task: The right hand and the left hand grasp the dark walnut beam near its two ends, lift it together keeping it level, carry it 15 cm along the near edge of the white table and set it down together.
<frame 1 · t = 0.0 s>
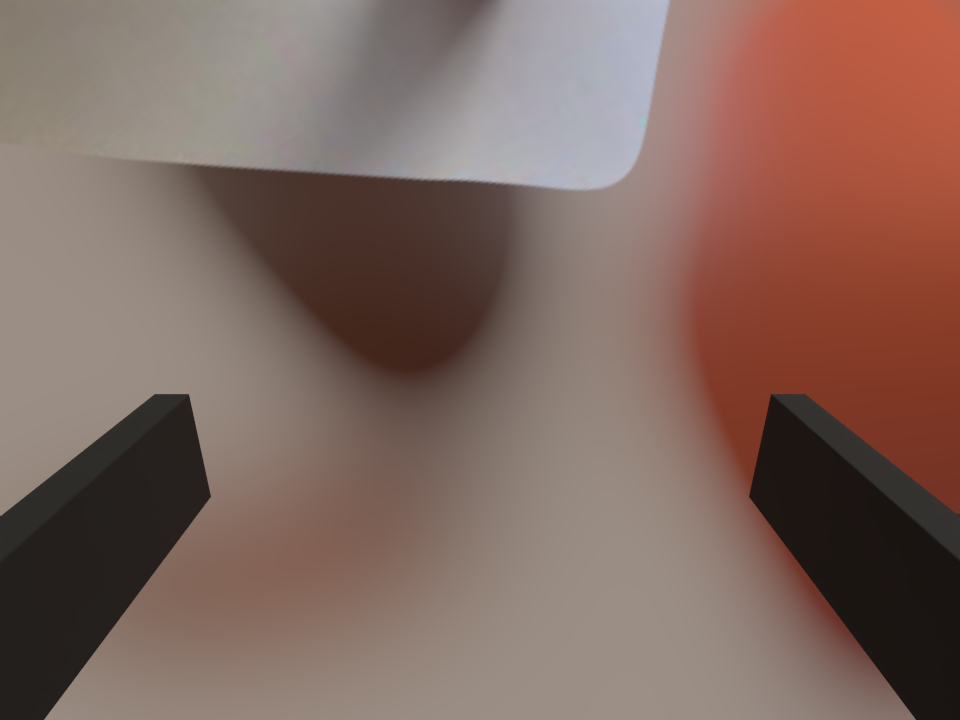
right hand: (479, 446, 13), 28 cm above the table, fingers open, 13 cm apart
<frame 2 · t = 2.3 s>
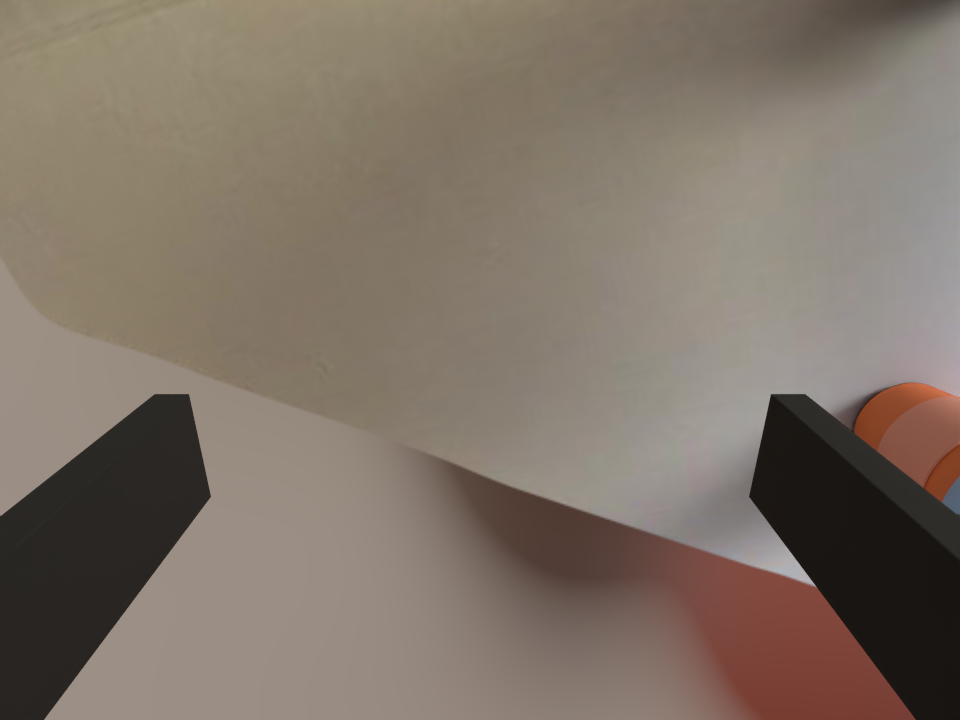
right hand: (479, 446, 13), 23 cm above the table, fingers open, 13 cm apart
cup with straw: (896, 420, 38), on the table
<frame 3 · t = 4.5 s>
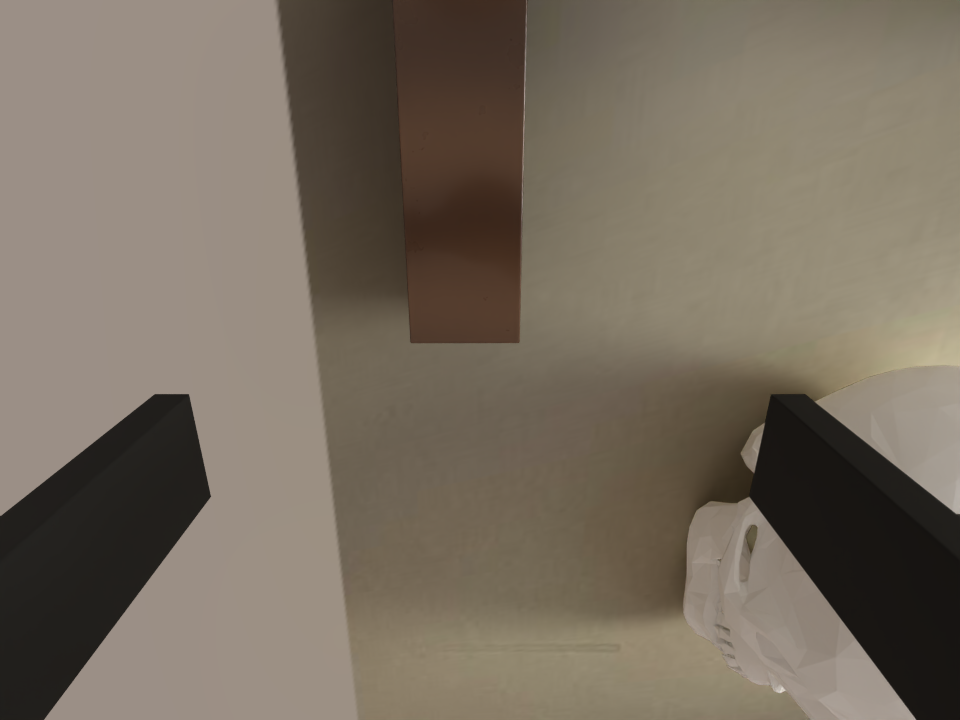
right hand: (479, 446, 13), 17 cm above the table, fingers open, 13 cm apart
walnut beam: (466, 64, 25), on the table, touching left hand
skull: (794, 485, 34), on the table
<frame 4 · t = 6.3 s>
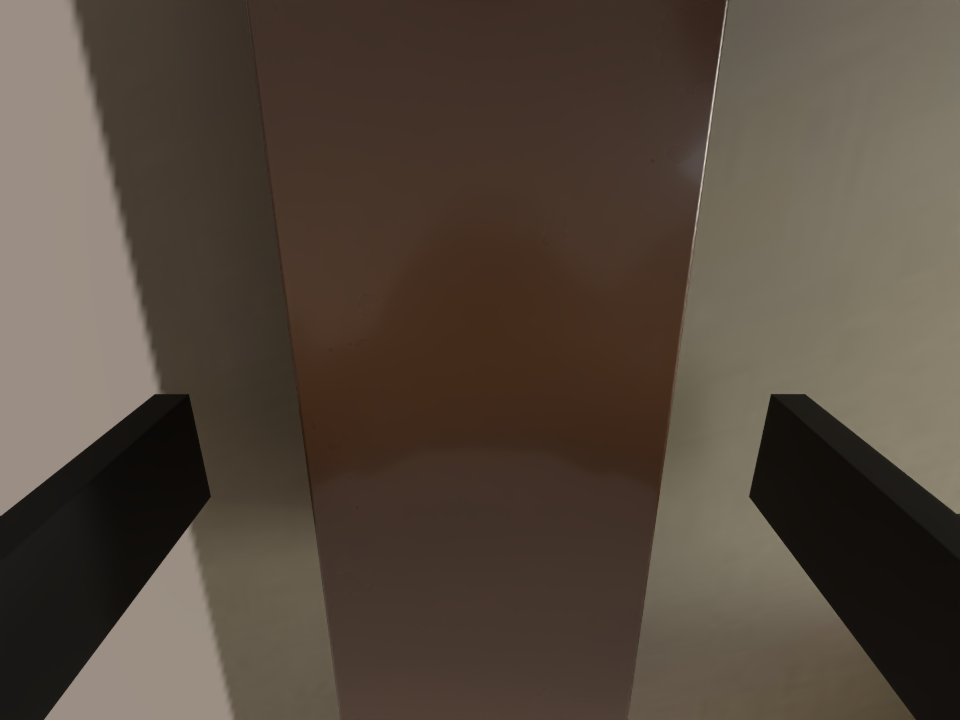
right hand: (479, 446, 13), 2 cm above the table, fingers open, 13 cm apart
walnut beam: (485, 71, 12), on the table, touching left hand
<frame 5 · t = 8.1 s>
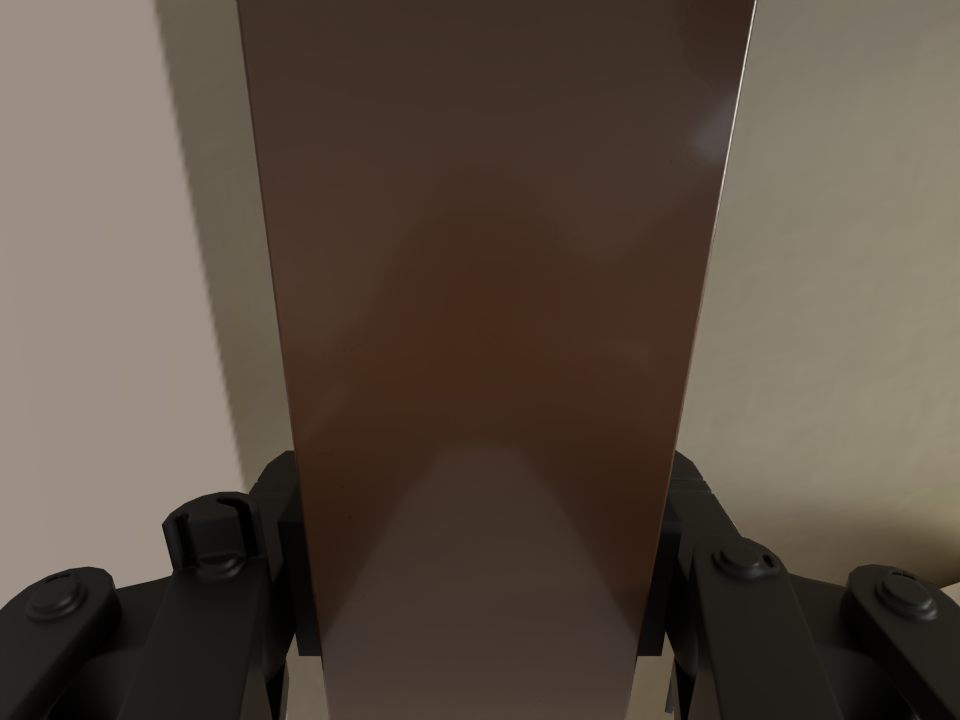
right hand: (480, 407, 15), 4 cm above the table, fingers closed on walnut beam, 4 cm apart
walnut beam: (487, 55, 11), point 5 cm above the table, touching right hand, left hand
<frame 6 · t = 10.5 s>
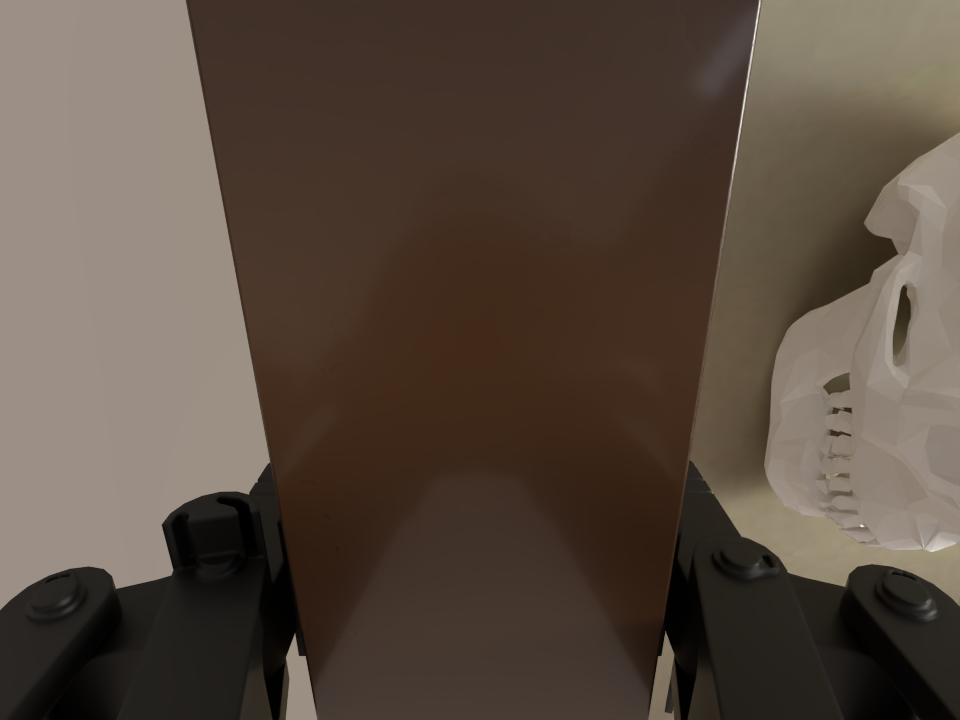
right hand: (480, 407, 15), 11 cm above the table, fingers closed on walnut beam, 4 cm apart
walnut beam: (475, 51, 11), point 12 cm above the table, touching right hand, left hand
skull: (923, 293, 24), on the table
when the right hand's fingers open (0 cm above the table, at t = 12.8 s): walnut beam stays where it is, on the table.
when the left hand's fingers open (3 cm above the table, at t = 13.0 s): walnut beam stays where it is, on the table.
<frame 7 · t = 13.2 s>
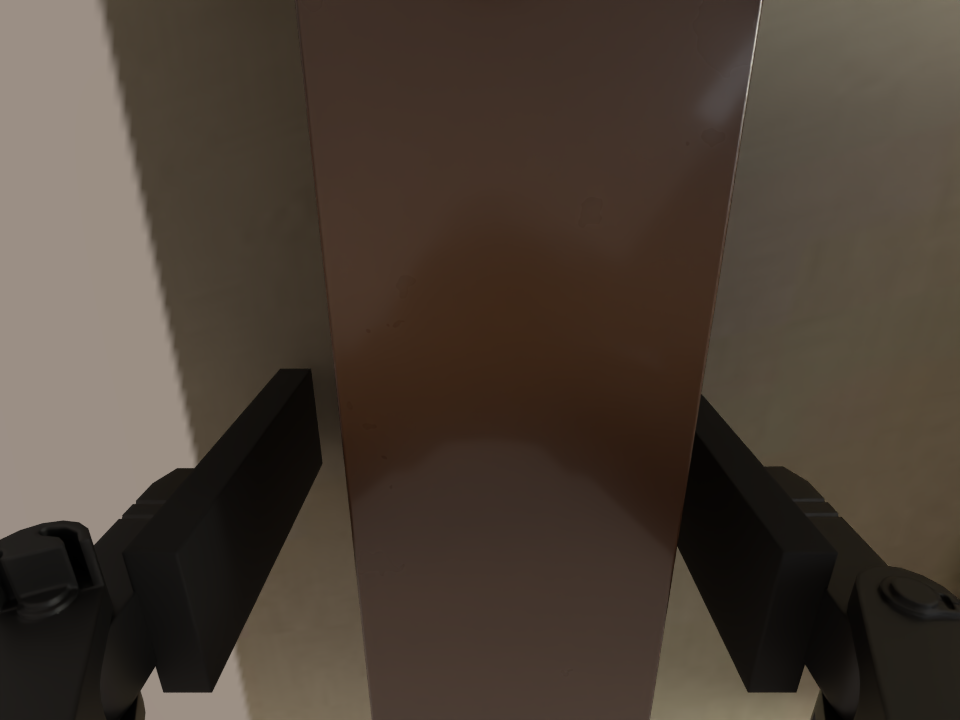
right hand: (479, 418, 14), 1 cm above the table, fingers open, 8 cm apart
walnut beam: (507, 63, 12), on the table
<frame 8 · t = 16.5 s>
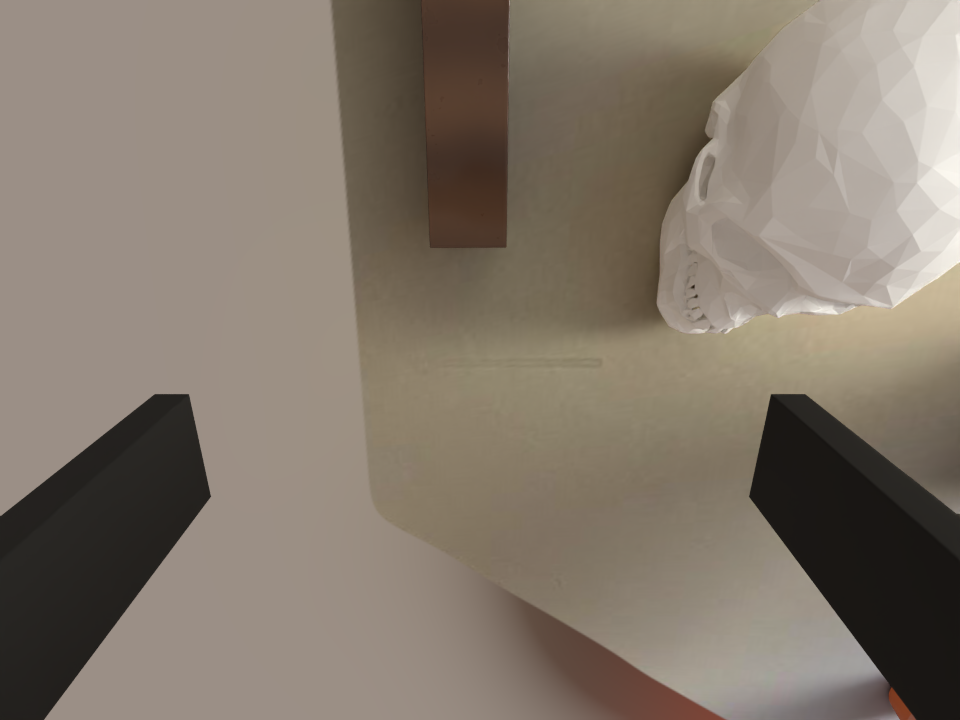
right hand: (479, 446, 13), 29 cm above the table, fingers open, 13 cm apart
walnut beam: (468, 52, 35), on the table
skull: (754, 183, 38), on the table
cup with straw: (917, 687, 56), on the table
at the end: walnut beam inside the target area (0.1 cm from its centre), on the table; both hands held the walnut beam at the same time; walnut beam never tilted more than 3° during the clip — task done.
